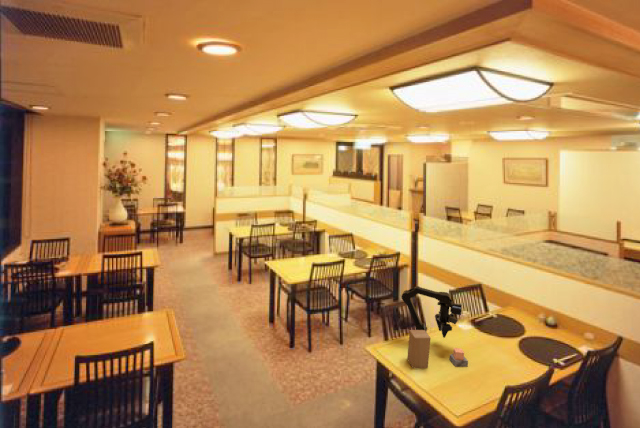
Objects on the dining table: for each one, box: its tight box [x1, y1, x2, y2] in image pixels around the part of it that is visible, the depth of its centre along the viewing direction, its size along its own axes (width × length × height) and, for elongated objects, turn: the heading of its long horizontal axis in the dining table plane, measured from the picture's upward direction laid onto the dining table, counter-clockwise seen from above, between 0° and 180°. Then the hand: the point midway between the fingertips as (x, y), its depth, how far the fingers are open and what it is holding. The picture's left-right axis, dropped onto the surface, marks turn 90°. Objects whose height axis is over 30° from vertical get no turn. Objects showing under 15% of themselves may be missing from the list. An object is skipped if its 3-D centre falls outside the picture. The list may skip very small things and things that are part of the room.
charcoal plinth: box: [448, 353, 469, 368], centre depth 227 cm, size 8×8×4 cm
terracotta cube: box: [452, 347, 465, 360], centre depth 226 cm, size 5×5×5 cm
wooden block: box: [406, 329, 432, 369], centre depth 223 cm, size 10×10×20 cm
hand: (441, 334), depth 239 cm, fingers open, 9 cm apart
